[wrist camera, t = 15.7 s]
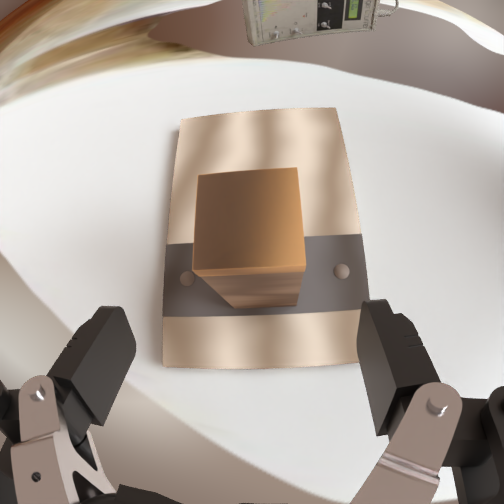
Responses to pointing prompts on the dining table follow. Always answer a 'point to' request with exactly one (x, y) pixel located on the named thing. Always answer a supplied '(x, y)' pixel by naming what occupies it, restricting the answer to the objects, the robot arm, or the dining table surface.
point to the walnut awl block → (250, 236)
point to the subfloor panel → (315, 238)
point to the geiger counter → (308, 18)
